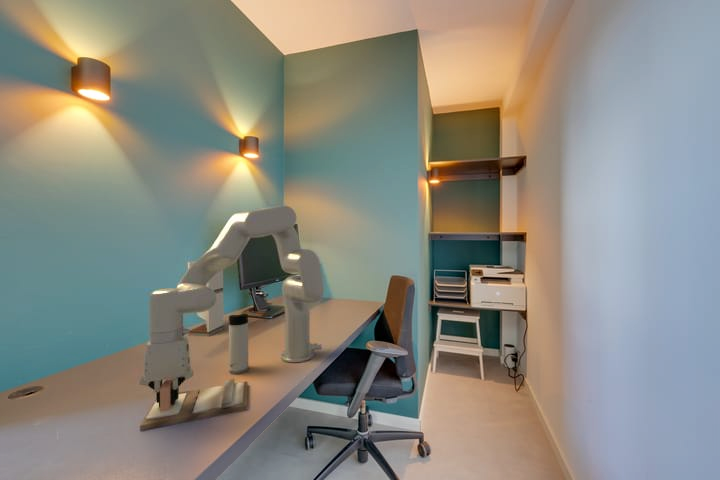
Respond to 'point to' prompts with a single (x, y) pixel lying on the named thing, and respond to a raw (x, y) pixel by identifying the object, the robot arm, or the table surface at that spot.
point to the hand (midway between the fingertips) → (167, 402)
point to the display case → (214, 314)
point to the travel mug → (238, 343)
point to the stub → (166, 402)
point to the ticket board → (205, 404)
